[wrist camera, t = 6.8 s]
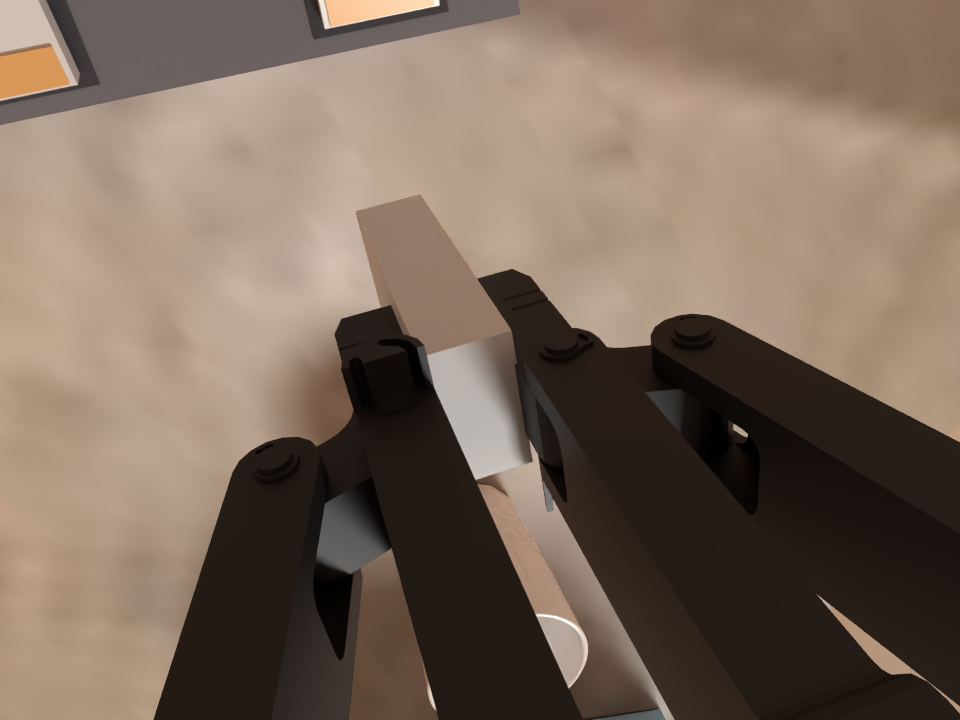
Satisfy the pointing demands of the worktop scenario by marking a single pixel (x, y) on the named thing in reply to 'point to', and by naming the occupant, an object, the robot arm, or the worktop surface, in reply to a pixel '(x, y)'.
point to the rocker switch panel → (212, 42)
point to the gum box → (638, 716)
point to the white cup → (537, 589)
